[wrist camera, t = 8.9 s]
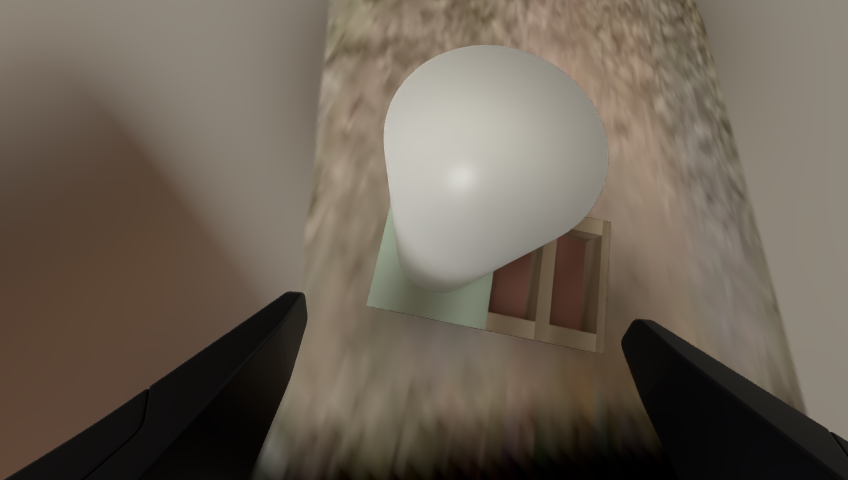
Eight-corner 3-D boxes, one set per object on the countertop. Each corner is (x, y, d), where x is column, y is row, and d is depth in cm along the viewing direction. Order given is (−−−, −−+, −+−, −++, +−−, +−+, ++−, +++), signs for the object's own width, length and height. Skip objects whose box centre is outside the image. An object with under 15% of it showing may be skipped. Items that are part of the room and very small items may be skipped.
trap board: (592, 230, 22) (610, 222, 20) (584, 350, 20) (603, 354, 18) (397, 189, 21) (397, 176, 20) (369, 306, 19) (366, 305, 18)
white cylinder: (459, 309, 18) (561, 293, 6) (381, 267, 18) (339, 179, 6) (495, 233, 19) (636, 102, 7) (421, 196, 19) (446, 13, 8)
